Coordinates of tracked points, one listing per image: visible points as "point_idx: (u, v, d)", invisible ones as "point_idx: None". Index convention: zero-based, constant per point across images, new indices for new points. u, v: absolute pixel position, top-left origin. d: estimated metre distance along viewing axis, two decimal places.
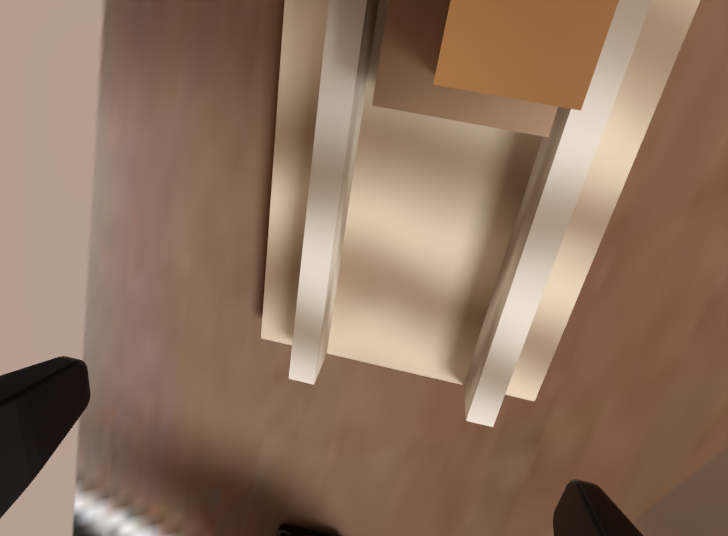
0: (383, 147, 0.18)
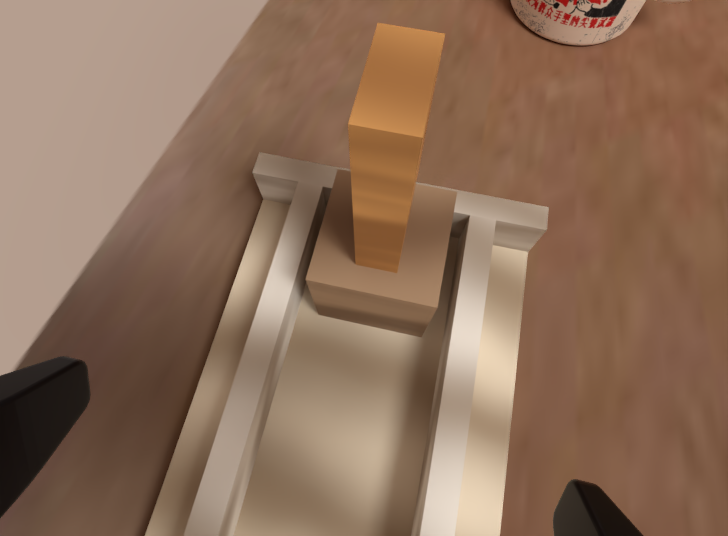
0: (309, 354, 0.21)
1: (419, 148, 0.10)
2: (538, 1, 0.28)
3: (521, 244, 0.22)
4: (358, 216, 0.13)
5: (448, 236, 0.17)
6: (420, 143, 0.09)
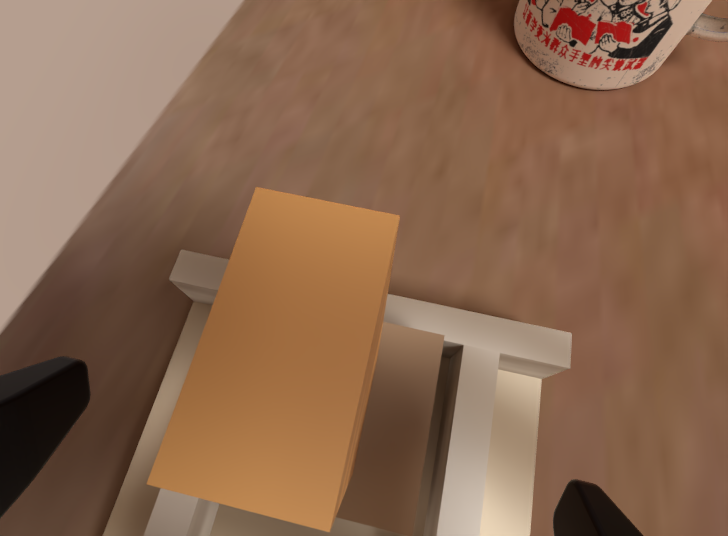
0: (242, 535, 0.15)
1: None
2: (550, 37, 0.23)
3: (533, 373, 0.16)
4: None
5: (430, 410, 0.12)
6: None
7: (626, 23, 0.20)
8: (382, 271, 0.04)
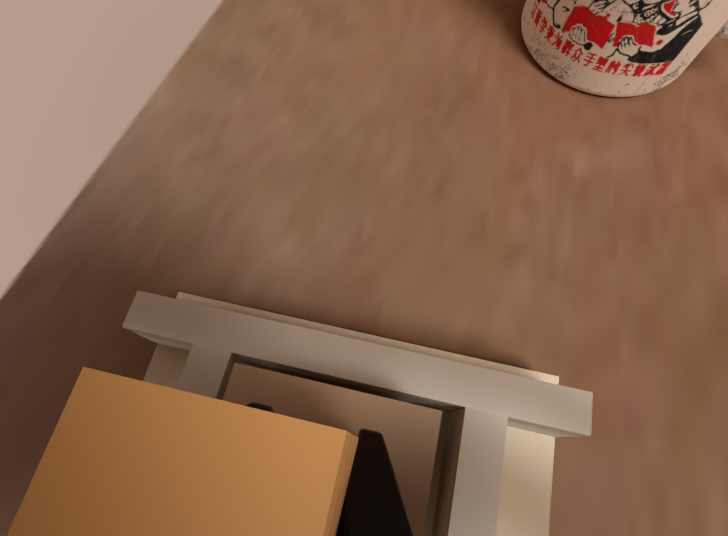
0: None
1: None
2: (562, 39, 0.20)
3: (546, 432, 0.14)
4: None
5: (424, 509, 0.09)
6: None
7: (650, 24, 0.18)
8: None
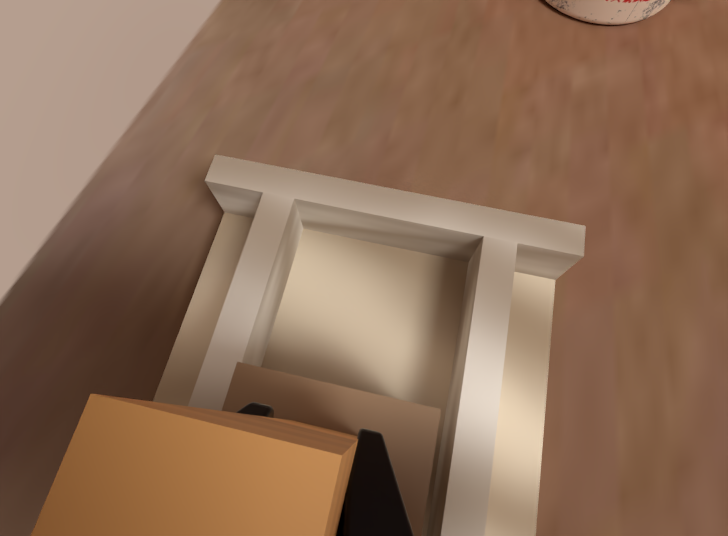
0: None
1: None
2: None
3: (548, 271, 0.17)
4: None
5: (423, 506, 0.10)
6: None
7: None
8: None
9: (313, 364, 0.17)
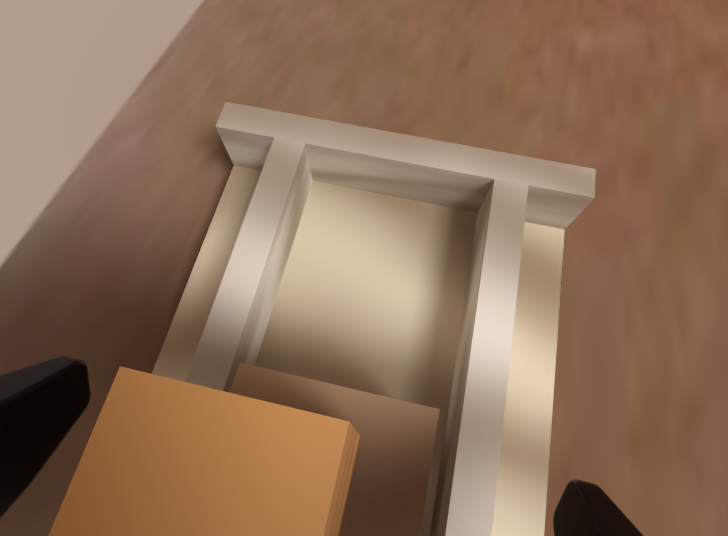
0: (287, 358, 0.16)
1: None
2: None
3: (557, 219, 0.17)
4: None
5: (422, 504, 0.10)
6: None
7: None
8: (316, 531, 0.03)
9: (323, 310, 0.17)
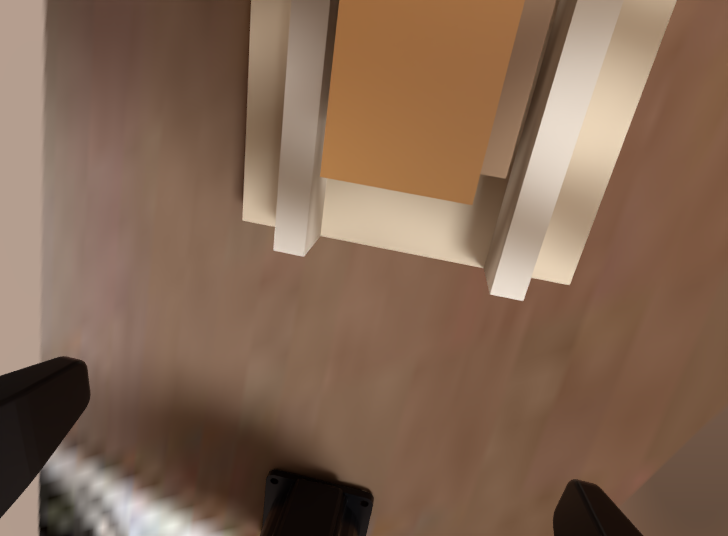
0: None
1: None
2: None
3: None
4: None
5: (537, 60, 0.11)
6: None
7: None
8: None
9: None
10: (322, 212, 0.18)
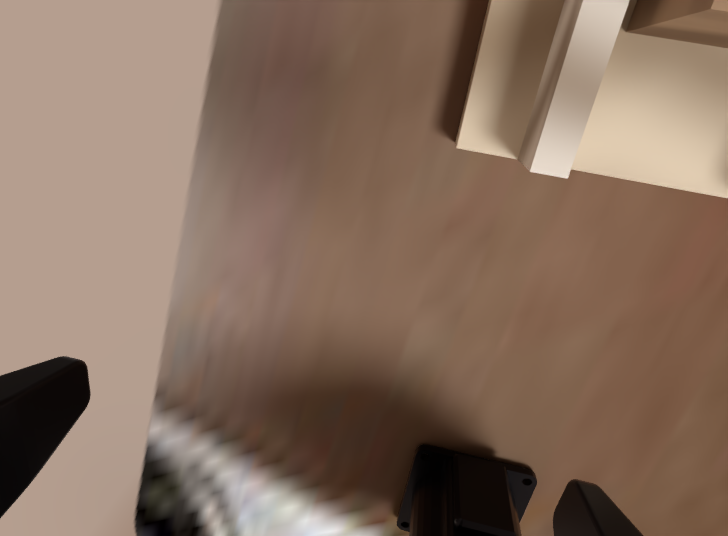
0: None
1: None
2: None
3: None
4: None
5: None
6: None
7: None
8: None
9: None
10: None
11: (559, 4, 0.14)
